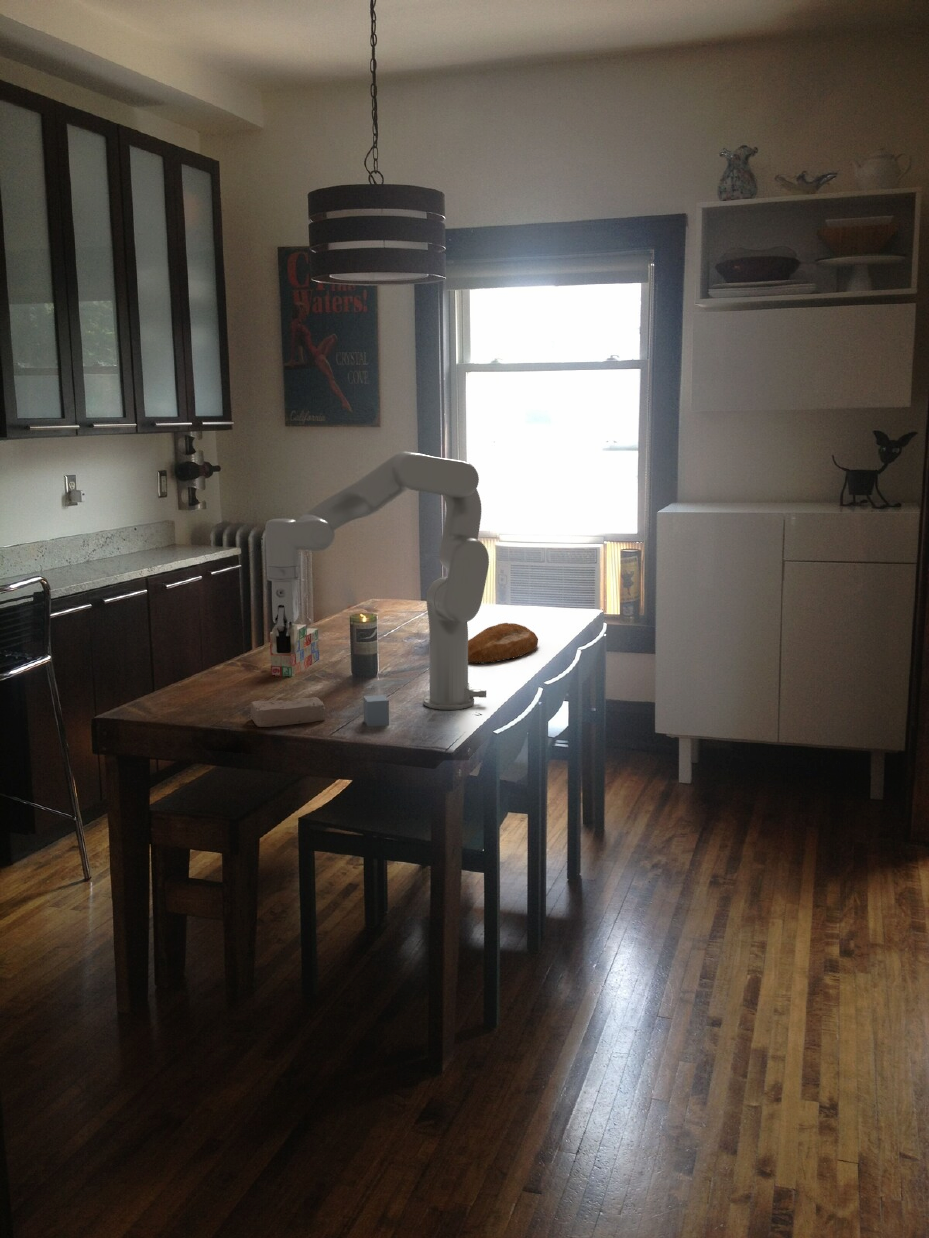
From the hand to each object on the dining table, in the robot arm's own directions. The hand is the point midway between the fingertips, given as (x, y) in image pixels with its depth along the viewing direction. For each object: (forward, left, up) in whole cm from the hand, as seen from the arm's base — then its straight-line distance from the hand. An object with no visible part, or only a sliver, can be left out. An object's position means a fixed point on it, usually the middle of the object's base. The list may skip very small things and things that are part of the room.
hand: (285, 649), depth 256 cm
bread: (-54, -69, -18) cm, 89 cm away
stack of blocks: (+5, -52, -17) cm, 55 cm away
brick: (0, 0, -18) cm, 18 cm away
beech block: (0, 0, -1) cm, 1 cm away
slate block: (-21, +3, -17) cm, 27 cm away
